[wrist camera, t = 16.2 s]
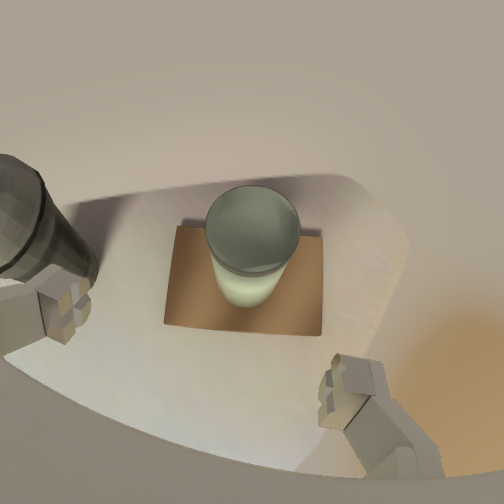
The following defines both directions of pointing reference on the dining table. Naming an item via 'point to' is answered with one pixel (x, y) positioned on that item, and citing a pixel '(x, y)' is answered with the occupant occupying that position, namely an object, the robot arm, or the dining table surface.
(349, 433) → the robot arm
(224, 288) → the sage tube
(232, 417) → the dining table surface
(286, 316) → the walnut board
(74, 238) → the beverage cup
